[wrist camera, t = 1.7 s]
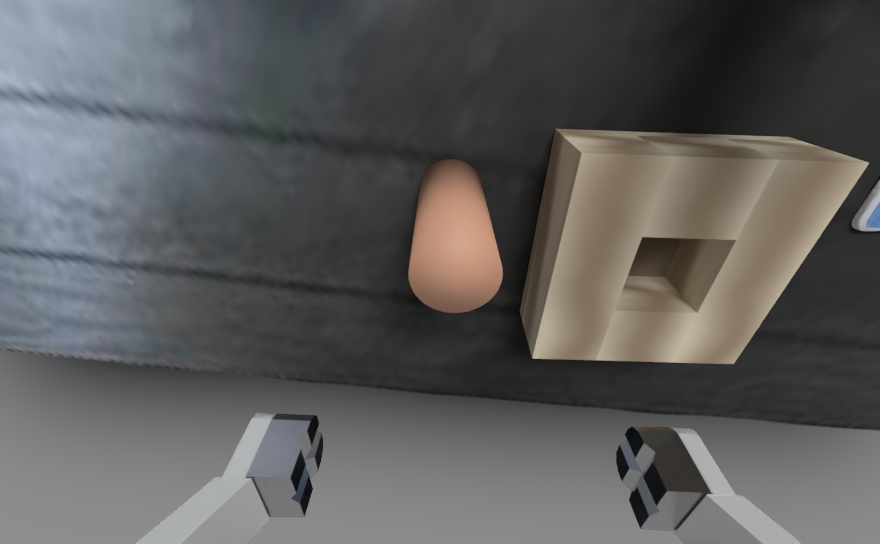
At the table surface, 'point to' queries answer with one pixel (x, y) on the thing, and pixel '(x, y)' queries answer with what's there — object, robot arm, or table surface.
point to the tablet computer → (869, 212)
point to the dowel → (453, 241)
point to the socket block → (672, 241)
